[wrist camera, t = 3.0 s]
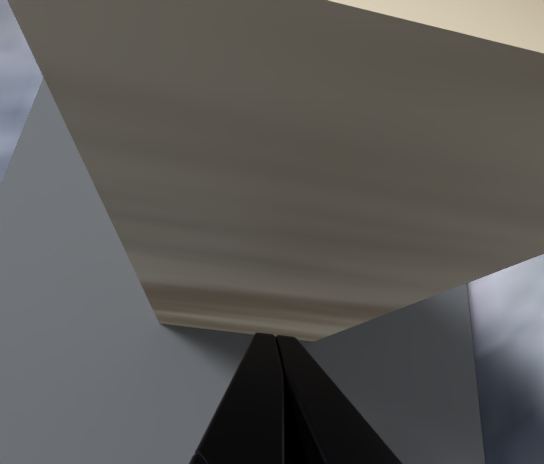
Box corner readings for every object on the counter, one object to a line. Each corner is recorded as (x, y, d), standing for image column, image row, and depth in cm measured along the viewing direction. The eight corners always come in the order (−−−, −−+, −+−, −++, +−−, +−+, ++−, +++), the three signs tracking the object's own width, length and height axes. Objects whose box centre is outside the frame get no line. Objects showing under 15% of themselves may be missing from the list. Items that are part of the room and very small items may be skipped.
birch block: (313, 341, 16) (862, 131, 3) (159, 323, 15) (-34, -87, 2) (319, 226, 18) (664, -210, 5) (182, 204, 17) (158, -397, 4)
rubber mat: (485, 578, 14) (497, 586, 14) (-137, 558, 12) (-153, 567, 11) (435, 45, 24) (441, 37, 24) (95, -36, 21) (93, -47, 21)
